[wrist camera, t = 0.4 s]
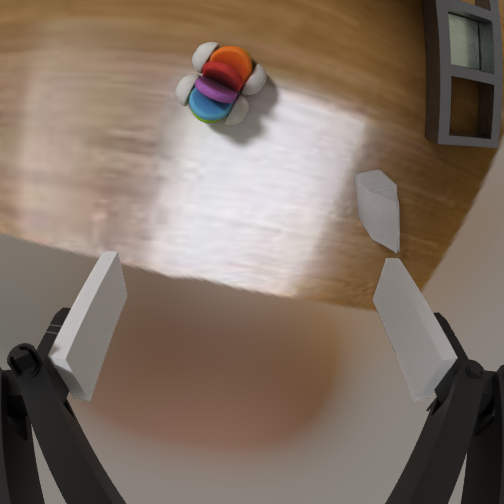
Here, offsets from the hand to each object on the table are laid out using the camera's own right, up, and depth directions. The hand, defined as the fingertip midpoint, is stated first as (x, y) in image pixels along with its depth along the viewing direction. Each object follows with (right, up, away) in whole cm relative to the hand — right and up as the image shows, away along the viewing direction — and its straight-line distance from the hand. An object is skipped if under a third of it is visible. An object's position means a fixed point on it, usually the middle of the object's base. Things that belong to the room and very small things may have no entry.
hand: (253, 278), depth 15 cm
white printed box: (+16, +9, +27) cm, 33 cm away
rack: (+28, +30, +14) cm, 43 cm away
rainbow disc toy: (-4, +21, +19) cm, 29 cm away
